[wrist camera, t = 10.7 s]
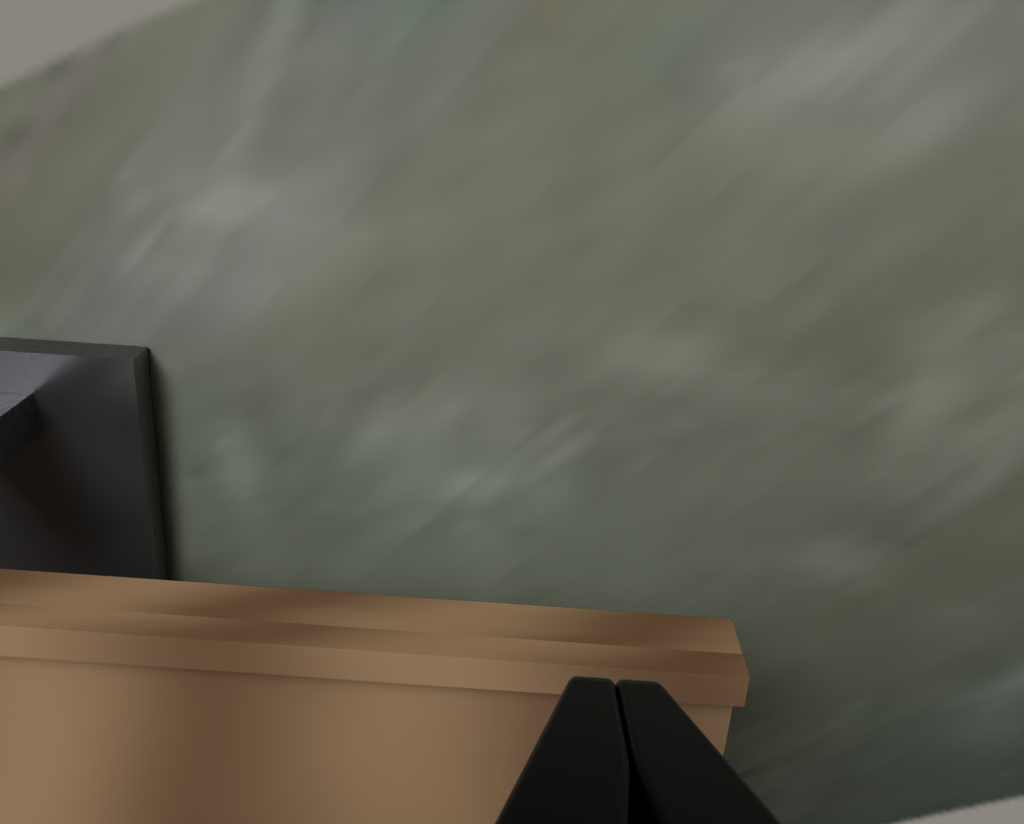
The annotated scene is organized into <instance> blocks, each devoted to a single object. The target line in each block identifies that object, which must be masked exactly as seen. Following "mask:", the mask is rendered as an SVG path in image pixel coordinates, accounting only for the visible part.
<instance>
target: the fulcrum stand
mask: <svg viewBox="0 0 1024 824" xmlns="http://www.w3.org/2000/svg"><path fill="white" fill-rule="evenodd" d="M0 569H11V570H26V571H40V572H55V573H69V574H84V575H98V576H113V577H127V578H142V579H156V580H168V574H167V563H166V551H165V540H164V529H163V517H162V506H161V495H160V483H159V472H158V461H157V449H156V438H155V427H154V415H153V404H152V393H151V381H150V370H149V359H148V347H138V346H123V345H108V344H93V343H78V342H63V341H48V340H34V339H19V338H4V337H0Z"/></svg>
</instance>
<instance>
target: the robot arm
mask: <svg viewBox="0 0 1024 824" xmlns="http://www.w3.org/2000/svg"><path fill="white" fill-rule="evenodd" d="M495 824H781V823H780V822H779V821H778V820H777V819H776V818H775V816H774V815H773V814H772V813H771V812H770V811H769V809H768V808H767V807H766V806H765V805H764V804H763V802H762V801H761V800H760V799H759V798H758V797H757V795H756V794H755V793H754V792H753V791H752V790H751V788H750V787H749V786H748V785H747V784H746V783H745V781H744V780H743V779H742V778H741V777H740V776H739V774H738V773H737V772H736V771H735V770H734V769H733V767H732V766H731V765H730V764H729V763H728V762H727V760H726V759H725V758H724V757H723V756H722V755H721V753H720V752H719V751H718V750H717V749H716V748H715V746H714V745H713V744H712V743H711V742H710V740H709V739H708V738H707V737H706V736H705V735H704V733H703V732H702V731H701V730H700V729H699V728H698V726H697V725H696V724H695V723H694V722H693V721H692V719H691V718H690V717H689V716H688V715H687V714H686V712H685V711H684V710H683V709H682V708H681V707H680V705H679V704H678V703H677V702H676V701H675V700H674V698H673V697H672V696H671V695H670V694H669V693H668V691H667V690H666V689H665V688H664V687H663V686H662V685H661V684H659V683H658V682H655V681H644V680H628V679H621V680H619V681H617V683H616V684H614V682H613V681H612V680H610V679H608V678H598V677H583V676H574V677H572V678H571V679H570V680H569V681H568V683H567V685H566V687H565V689H564V691H563V693H562V694H561V696H560V698H559V700H558V702H557V704H556V706H555V708H554V710H553V712H552V714H551V716H550V718H549V720H548V722H547V723H546V725H545V727H544V729H543V731H542V733H541V735H540V737H539V739H538V741H537V743H536V745H535V747H534V749H533V751H532V752H531V754H530V756H529V758H528V760H527V762H526V764H525V766H524V768H523V770H522V772H521V774H520V776H519V778H518V780H517V781H516V783H515V785H514V787H513V789H512V791H511V793H510V795H509V797H508V799H507V801H506V803H505V805H504V807H503V809H502V810H501V812H500V814H499V816H498V818H497V820H496V822H495Z"/></svg>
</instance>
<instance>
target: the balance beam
mask: <svg viewBox="0 0 1024 824" xmlns="http://www.w3.org/2000/svg"><path fill="white" fill-rule="evenodd" d="M574 676H583V677H598V678H608V679H610V680H612V681H613V682H614V684H616V683H617V681H619V680H621V679H628V680H644V681H655V682H658V683H659V684H661V685H662V686H663V687H664V688H665V689H666V690H667V691H668V693H669V694H670V695H671V696H672V697H673V698H674V700H675V701H676V702H677V703H678V704H679V705H680V707H681V708H682V709H683V710H684V711H685V712H686V714H687V715H688V716H689V717H690V718H691V719H692V721H693V722H694V723H695V724H696V725H697V726H698V728H699V729H700V730H701V731H702V732H703V733H704V735H705V736H706V737H707V738H708V739H709V740H710V742H711V743H712V744H713V745H714V746H715V748H716V749H717V750H718V751H719V752H720V753H721V755H722V756H723V755H724V750H725V745H726V740H727V734H728V729H729V724H730V718H731V713H732V708H733V706H735V707H744V706H745V701H746V696H747V690H748V685H749V680H750V675H749V672H748V669H747V666H746V663H745V660H744V657H743V653H742V650H741V647H740V644H739V641H738V638H737V635H736V632H735V629H734V625H733V622H732V619H723V618H708V617H694V616H679V615H665V614H650V613H635V612H621V611H606V610H592V609H577V608H563V607H548V606H534V605H519V604H505V603H490V602H476V601H461V600H447V599H432V598H418V597H403V596H389V595H374V594H360V593H345V592H331V591H316V590H302V589H287V588H273V587H258V586H244V585H229V584H215V583H200V582H185V581H171V580H156V579H142V578H127V577H113V576H98V575H84V574H69V573H55V572H40V571H26V570H11V569H0V824H495V822H496V820H497V818H498V816H499V814H500V812H501V810H502V809H503V807H504V805H505V803H506V801H507V799H508V797H509V795H510V793H511V791H512V789H513V787H514V785H515V783H516V781H517V780H518V778H519V776H520V774H521V772H522V770H523V768H524V766H525V764H526V762H527V760H528V758H529V756H530V754H531V752H532V751H533V749H534V747H535V745H536V743H537V741H538V739H539V737H540V735H541V733H542V731H543V729H544V727H545V725H546V723H547V722H548V720H549V718H550V716H551V714H552V712H553V710H554V708H555V706H556V704H557V702H558V700H559V698H560V696H561V694H562V693H563V691H564V689H565V687H566V685H567V683H568V681H569V680H570V679H571V678H572V677H574Z"/></svg>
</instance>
